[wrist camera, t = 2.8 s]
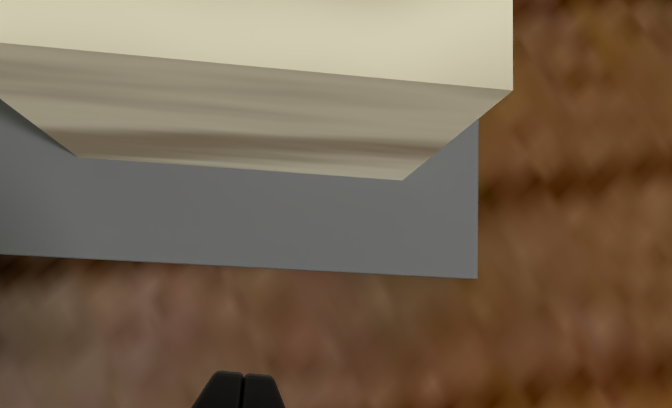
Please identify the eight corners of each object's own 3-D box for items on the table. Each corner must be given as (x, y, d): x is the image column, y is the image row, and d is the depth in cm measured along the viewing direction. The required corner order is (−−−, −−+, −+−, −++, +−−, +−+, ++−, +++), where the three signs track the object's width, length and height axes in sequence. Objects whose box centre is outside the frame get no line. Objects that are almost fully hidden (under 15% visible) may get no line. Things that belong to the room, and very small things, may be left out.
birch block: (402, 180, 22) (512, 90, 12) (77, 157, 21) (-86, 34, 11) (405, 58, 23) (512, -117, 13) (93, 27, 22) (-46, -194, 12)
